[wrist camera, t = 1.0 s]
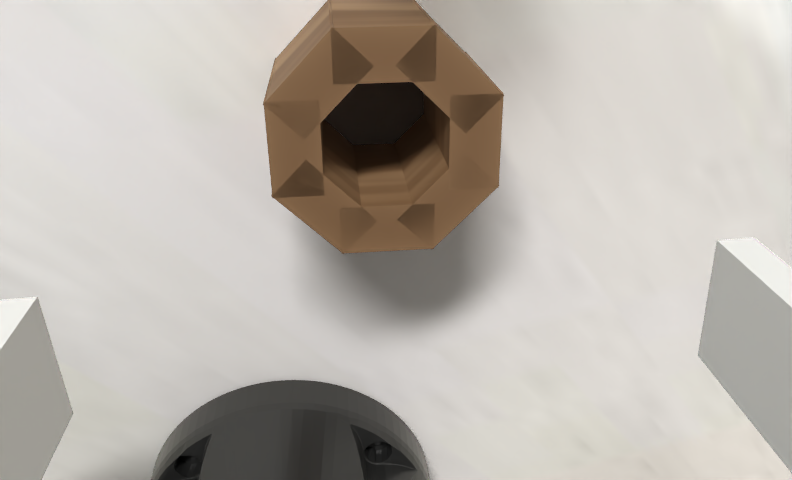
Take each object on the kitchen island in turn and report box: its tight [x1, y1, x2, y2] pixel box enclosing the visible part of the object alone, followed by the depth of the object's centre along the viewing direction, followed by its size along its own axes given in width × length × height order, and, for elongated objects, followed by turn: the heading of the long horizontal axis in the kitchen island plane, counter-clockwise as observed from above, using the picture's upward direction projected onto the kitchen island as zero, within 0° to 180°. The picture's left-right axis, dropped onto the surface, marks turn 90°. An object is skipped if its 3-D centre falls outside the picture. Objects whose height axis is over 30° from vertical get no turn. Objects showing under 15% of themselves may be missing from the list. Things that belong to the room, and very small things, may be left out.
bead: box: [263, 0, 504, 254], centre depth 28 cm, size 8×8×7 cm
